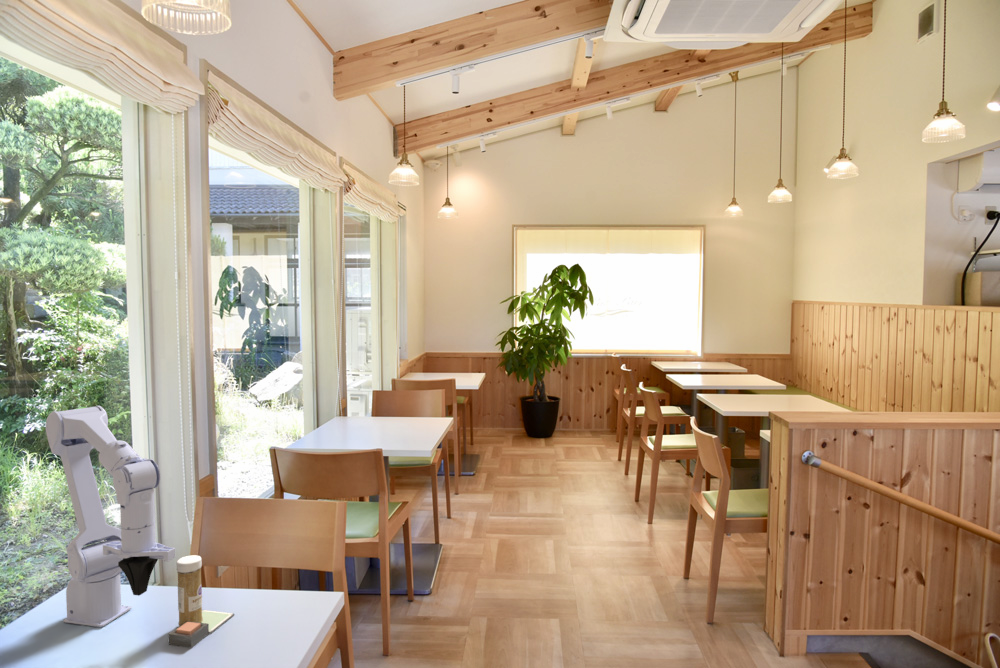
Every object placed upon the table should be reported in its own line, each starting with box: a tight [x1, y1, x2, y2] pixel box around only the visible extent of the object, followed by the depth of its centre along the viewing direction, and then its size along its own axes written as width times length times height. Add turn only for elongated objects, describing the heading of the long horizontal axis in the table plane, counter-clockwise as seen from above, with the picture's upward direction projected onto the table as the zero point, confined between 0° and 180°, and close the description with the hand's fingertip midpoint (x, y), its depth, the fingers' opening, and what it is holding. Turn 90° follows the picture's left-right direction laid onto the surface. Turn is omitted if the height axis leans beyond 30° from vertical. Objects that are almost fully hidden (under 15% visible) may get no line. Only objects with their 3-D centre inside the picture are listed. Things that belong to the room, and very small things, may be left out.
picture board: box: [201, 609, 235, 635], centre depth 129 cm, size 8×8×1 cm
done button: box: [177, 622, 201, 635], centre depth 122 cm, size 3×3×2 cm
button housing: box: [167, 621, 210, 649], centre depth 123 cm, size 5×5×2 cm
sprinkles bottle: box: [176, 554, 203, 627], centre depth 128 cm, size 5×5×13 cm
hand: (140, 592), depth 122 cm, fingers closed
